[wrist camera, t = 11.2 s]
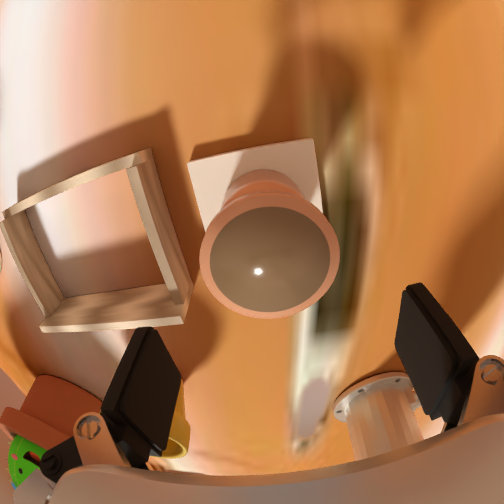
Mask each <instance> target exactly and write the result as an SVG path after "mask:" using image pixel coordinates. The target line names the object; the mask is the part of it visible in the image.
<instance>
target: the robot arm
mask: <svg viewBox="0 0 504 504" xmlns="http://www.w3.org/2000/svg"><path fill="white" fill-rule="evenodd" d="M395 348H396V351H397V353H398V355H399V357H400V359H401V361H402V363H403V365H404V368H405V370H406V372H407V374H406V373H403V372H388V373H383V374H379V375H375V376H373V377H370V378H367V379H365V380H363V381H361V382H359V383H357V384H355V385H353V386H352V387H350V388H349V389H347V390H346V391H345V392H343V393H342V394H341V395H340V396H339V397H338V399H337V400H336V401H335V403H334V405H333V413H334V416H335V418H336V419H337V420H339V421H342V422H346V423H347V426H348V430H349V435H350V439H351V444H352V448H353V453H354V457H355V461H354V462H349V463H345V464H340V465H335V466H330V467H324V468H319V469H312V470H306V471H298V472H290V473H280V474H267V475H248V476H210V475H191V474H179V473H169V472H160V471H154V470H153V468H152V467H151V465H150V464H149V462H148V459H149V456H156V457H161V456H162V451H165V450H166V447H167V443H168V438H169V434H170V429H171V424H172V420H173V415H174V411H175V407H176V402H177V398H178V394H179V389H180V385H181V374H180V372H179V371H178V369H177V367H176V365H175V363H174V362H173V360H172V358H171V356H170V354H169V352H168V350H167V349H166V347H165V345H164V343H163V341H162V339H161V337H160V335H159V333H158V331H157V330H154V329H153V328H152V327H150V326H148V327H138V328H136V330H135V332H134V334H133V336H132V338H131V340H130V342H129V344H128V346H127V348H126V351H125V353H124V355H123V357H122V359H121V361H120V364H119V366H118V368H117V370H116V373H115V375H114V377H113V379H112V382H111V384H110V386H109V389H108V391H107V393H106V396H105V398H104V401H103V403H102V405H101V408H100V409H101V412H100V414H99V413H96V412H88V413H85V414H83V415H82V416H80V417H79V418H78V420H77V421H76V423H75V424H74V428H73V434H74V436H72V437H70V438H69V439H67V440H65V441H63V442H62V443H60V444H58V445H56V446H55V447H53V448H51V449H49V450H48V451H46V452H45V453H44V454H43V455H42V457H41V460H40V470H39V469H38V468H36V469H35V470H34V471H33V472H32V473H31V474H30V475H29V476H28V477H27V478H26V479H25V480H24V481H23V482H22V483H21V484H20V485H19V486H18V487H17V488H16V490H15V491H14V494H13V501H14V504H504V360H503V359H501V358H500V357H497V356H495V355H488V356H484V357H482V358H481V359H479V357H478V356H477V354H476V353H475V351H474V350H473V348H472V347H471V346H470V344H469V343H468V341H467V340H466V338H465V337H464V336H463V334H462V333H461V331H460V330H459V329H458V327H457V326H456V325H455V323H454V322H453V321H452V319H451V318H450V317H449V315H448V314H447V313H446V312H445V311H444V310H443V308H442V307H441V306H440V304H439V303H438V302H437V301H436V299H435V298H434V297H433V296H432V294H431V293H430V292H429V291H428V289H427V288H426V287H425V286H424V285H423V284H422V283H416V284H412V285H408V286H407V287H406V290H404V291H403V292H402V299H401V306H400V313H399V319H398V326H397V331H396V337H395ZM413 387H414V390H415V391H412V390H413ZM420 406H422V408H423V411H424V413H425V414H426V415H430V418H431V420H434V419H437V418H439V417H441V416H442V418H443V420H444V422H445V423H444V426H443V429H442V431H441V433H440V434H438V435H435V436H433V437H430V438H428V439H425V440H424V439H423V436H422V433H421V430H420V428H419V425H418V422H417V420H416V417H415V415H414V412H413V411H415V409H416V408H418V407H420Z"/></svg>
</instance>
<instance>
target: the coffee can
mask: <svg viewBox="0 0 504 504" xmlns="http://www.w3.org/2000/svg"><path fill="white" fill-rule="evenodd" d="M1 268H2V257H1V252H0V272H1Z"/></svg>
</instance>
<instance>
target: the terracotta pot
mask: <svg viewBox="0 0 504 504" xmlns="http://www.w3.org/2000/svg"><path fill="white" fill-rule="evenodd" d="M339 261H340V250H339V243H338V240H337V236H336V234H335V232H334V230H333V228H332V226H331V225H330V223H329V222H328V220H327V219H326V217H325V216H324V215H323V213H322V212H321V211H320V210H319V209H318V208H317V207H316V206H314V205H313V204H312V203H310V202H309V201H307V200H306V199H305V198H304V196H303V194H302V193H301V191H300V190H299V188H298V187H297V185H296V184H295V183H294V182H293V181H292V180H291V179H290V178H289V177H288V176H286V175H284V174H282V173H280V172H278V171H274V170H269V169H258V170H253V171H250V172H247V173H245V174H243V175H241V176H240V177H238V178H237V179H236V180H235V181H234V182H233V183H232V184H231V185H230V186H229V188H228V189H227V191H226V193H225V196H224V199H223V202H222V206H221V209H220V211H219V212H218V213H217V214H216V216H215V217H214V218H213V220H212V221H211V222H210V224H209V226H208V228H207V230H206V233H205V235H204V238H203V241H202V244H201V249H200V258H199V262H200V270H201V274H202V277H203V280H204V282H205V284H206V286H207V287H208V289H209V291H210V292H211V293H212V294H213V296H214V297H215V298H216V299H217V300H218V301H219V302H221V303H222V304H223V305H224V306H226V307H227V308H229V309H231V310H233V311H235V312H237V313H239V314H242V315H245V316H249V317H254V318H263V319H272V318H281V317H285V316H289V315H292V314H296V313H298V312H300V311H302V310H304V309H306V308H308V307H309V306H311V305H312V304H314V303H315V302H316V301H318V300H319V299H320V298H321V297H322V296H323V295H324V294H325V292H326V291H327V290H328V289H329V287H330V286H331V284H332V283H333V280H334V278H335V276H336V273H337V270H338V266H339Z"/></svg>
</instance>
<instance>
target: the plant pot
mask: <svg viewBox="0 0 504 504" xmlns="http://www.w3.org/2000/svg"><path fill="white" fill-rule="evenodd" d="M100 412H101V410H100ZM99 414H100V413H99ZM189 440H190V425H189V423H188V422H187V421H186V420H185V407H184V388H183V380H182V378H181V385H180V389H179V394H178V398H177V402H176V407H175V411H174V415H173V420H172V424H171V429H170V434H169V438H168V443H167V447H166V450H165V451H162V456H161V457H157V458H169V459H172V458H180V457H183V456H185V455H186V454H187V452H188V447H189ZM151 457H156V456H151Z"/></svg>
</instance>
